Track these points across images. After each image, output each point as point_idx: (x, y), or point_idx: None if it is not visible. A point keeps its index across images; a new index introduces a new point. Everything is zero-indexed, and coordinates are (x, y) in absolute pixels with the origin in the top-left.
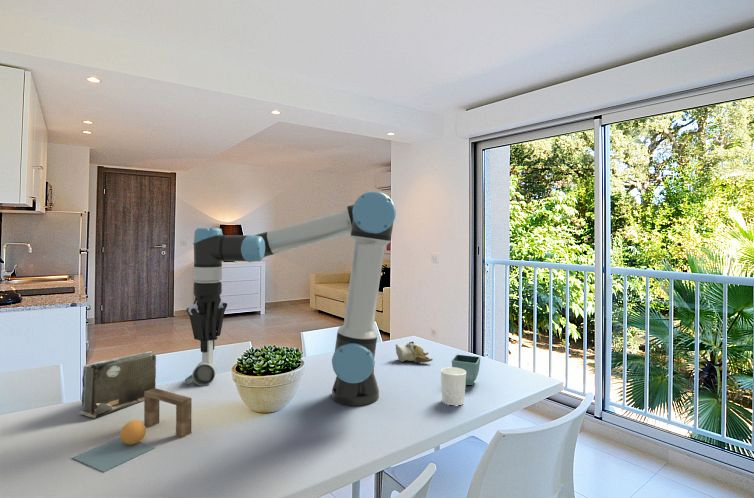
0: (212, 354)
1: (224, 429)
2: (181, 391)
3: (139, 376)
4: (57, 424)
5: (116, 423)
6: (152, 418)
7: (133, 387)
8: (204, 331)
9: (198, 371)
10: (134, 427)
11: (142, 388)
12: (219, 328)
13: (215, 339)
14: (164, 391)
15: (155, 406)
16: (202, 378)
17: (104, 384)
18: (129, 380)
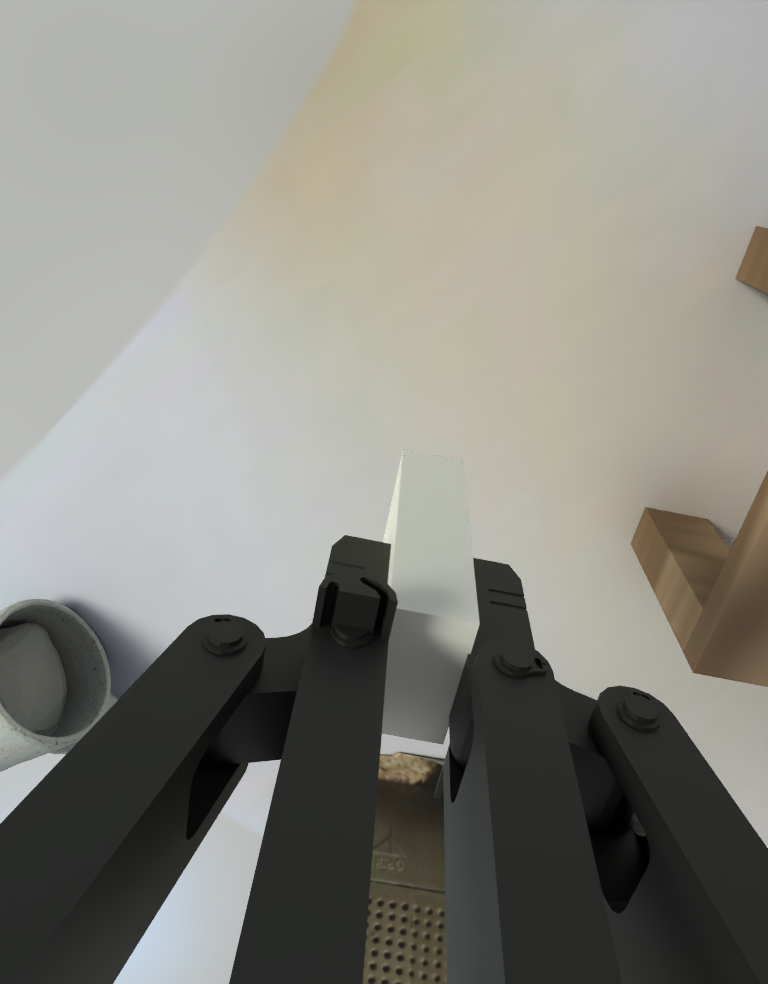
0: (404, 495)
1: (667, 21)
2: None
3: (394, 895)
4: None
5: (688, 687)
6: (701, 537)
7: (437, 850)
8: (574, 810)
9: (48, 718)
10: None
11: (378, 822)
12: (177, 715)
13: (373, 578)
14: (754, 571)
15: (707, 568)
16: (56, 665)
17: None
18: None
